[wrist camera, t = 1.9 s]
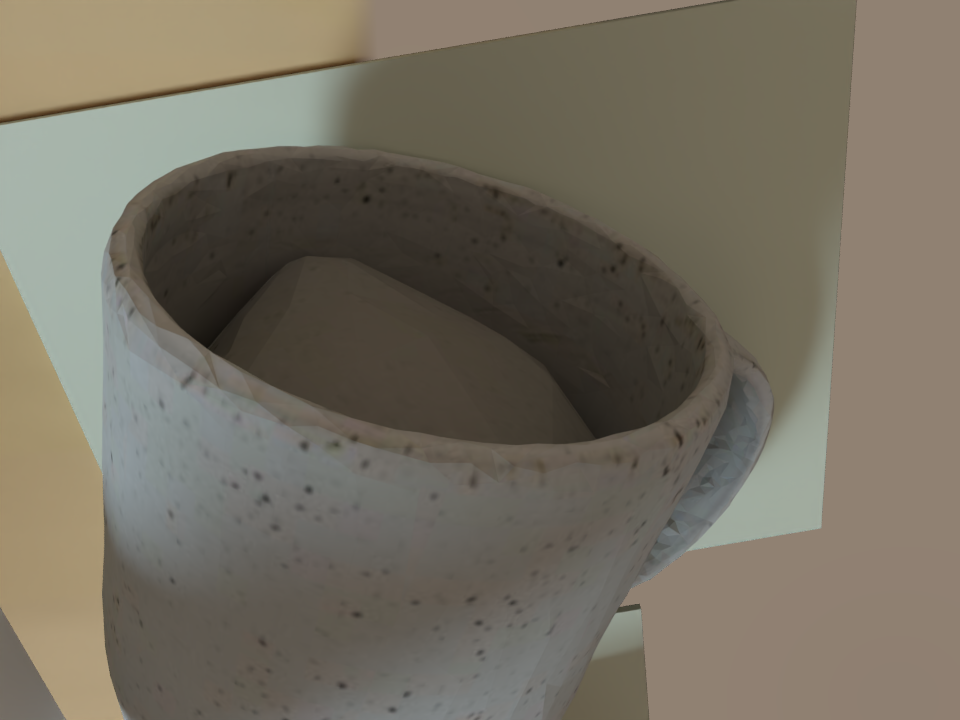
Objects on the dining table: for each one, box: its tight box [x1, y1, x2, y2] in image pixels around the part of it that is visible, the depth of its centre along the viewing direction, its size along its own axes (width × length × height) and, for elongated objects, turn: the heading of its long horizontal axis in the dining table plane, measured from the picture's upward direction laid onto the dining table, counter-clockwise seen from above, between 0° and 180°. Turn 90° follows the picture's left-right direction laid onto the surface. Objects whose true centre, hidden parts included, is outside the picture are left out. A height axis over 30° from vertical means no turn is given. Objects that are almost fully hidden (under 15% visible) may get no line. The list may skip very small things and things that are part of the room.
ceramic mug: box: [101, 145, 774, 720], centre depth 13 cm, size 11×8×8 cm
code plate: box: [0, 0, 857, 551], centre depth 16 cm, size 14×11×1 cm
